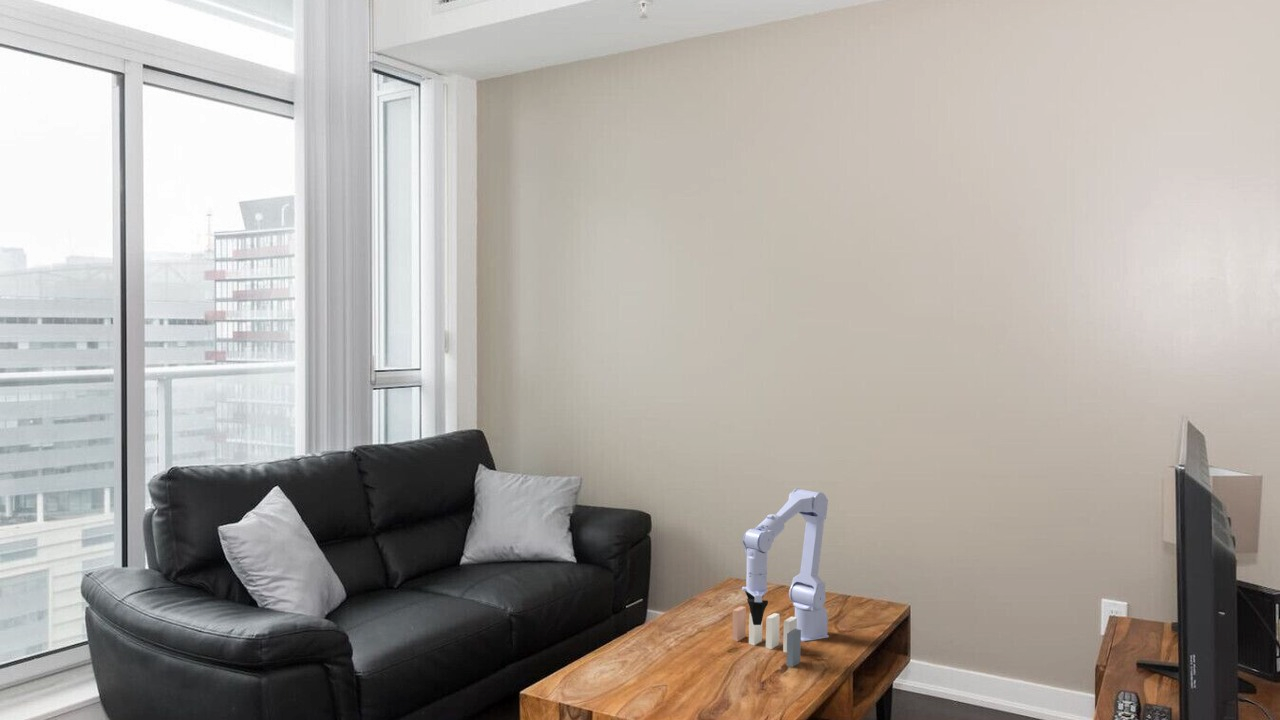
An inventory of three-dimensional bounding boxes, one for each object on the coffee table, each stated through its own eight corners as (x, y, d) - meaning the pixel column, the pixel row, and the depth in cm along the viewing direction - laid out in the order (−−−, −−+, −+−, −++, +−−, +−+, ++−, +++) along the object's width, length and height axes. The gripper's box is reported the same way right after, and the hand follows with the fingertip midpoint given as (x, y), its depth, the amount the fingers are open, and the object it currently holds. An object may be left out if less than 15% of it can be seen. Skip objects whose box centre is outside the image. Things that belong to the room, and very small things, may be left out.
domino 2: (762, 640, 274) (762, 610, 274) (754, 645, 270) (754, 614, 270) (756, 639, 275) (757, 609, 275) (748, 644, 271) (749, 613, 271)
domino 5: (800, 661, 258) (800, 629, 257) (792, 667, 253) (793, 634, 253) (794, 660, 259) (794, 628, 258) (786, 666, 254) (787, 633, 254)
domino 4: (796, 648, 268) (797, 617, 268) (788, 653, 264) (789, 622, 264) (790, 647, 269) (791, 616, 269) (783, 652, 265) (783, 620, 265)
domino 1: (745, 636, 277) (746, 607, 277) (737, 641, 273) (738, 611, 273) (740, 635, 279) (740, 606, 278) (732, 640, 274) (732, 610, 274)
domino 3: (779, 644, 271) (779, 614, 271) (771, 649, 267) (771, 618, 267) (773, 643, 272) (774, 612, 272) (765, 648, 268) (766, 617, 268)
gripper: (740, 565, 269) (740, 611, 269) (744, 579, 254) (743, 628, 255) (765, 565, 268) (764, 612, 269) (770, 579, 254) (769, 628, 254)
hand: (755, 620), depth 262 cm, fingers open, 7 cm apart
